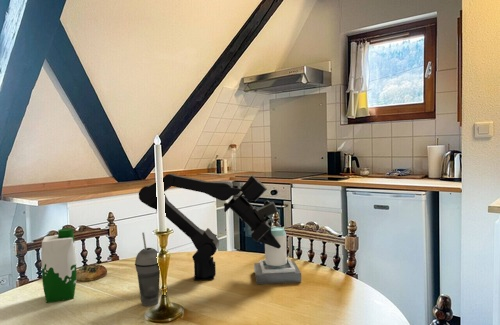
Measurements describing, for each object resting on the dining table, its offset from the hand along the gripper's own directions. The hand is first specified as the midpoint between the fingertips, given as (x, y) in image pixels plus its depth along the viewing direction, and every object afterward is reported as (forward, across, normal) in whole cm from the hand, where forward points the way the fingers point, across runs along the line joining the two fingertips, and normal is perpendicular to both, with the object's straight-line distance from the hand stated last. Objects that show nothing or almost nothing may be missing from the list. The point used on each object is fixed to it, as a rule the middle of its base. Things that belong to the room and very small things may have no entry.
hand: (279, 244), depth 122 cm
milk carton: (-38, -16, +55) cm, 69 cm away
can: (+4, 0, +6) cm, 7 cm away
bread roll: (-38, +2, +55) cm, 67 cm away
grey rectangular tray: (+7, 0, +8) cm, 11 cm away
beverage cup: (-18, -20, +34) cm, 44 cm away
